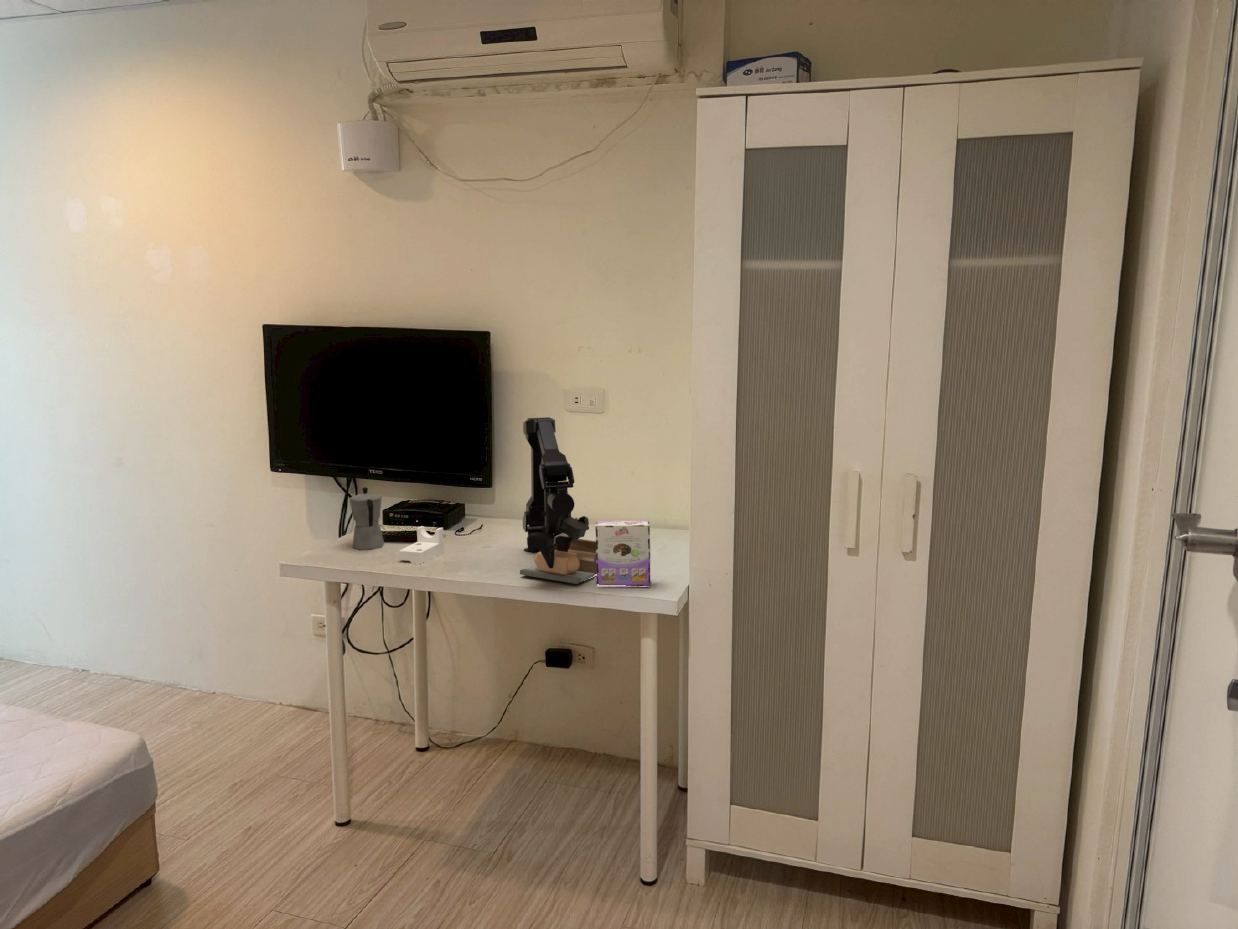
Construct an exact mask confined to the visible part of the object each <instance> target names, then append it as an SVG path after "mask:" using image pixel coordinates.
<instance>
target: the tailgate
mask: <svg viewBox="0 0 1238 929" xmlns="http://www.w3.org/2000/svg"><path fill="white" fill-rule="evenodd" d="M519 575H522V576H526V577H532V578H533V577H534V578H538V579H539V578H540V579H545V580H552V581H556V582H563V583H568V584H575V585H578V584H580V582H581V583H583V582H582V581H584V582H587V581H588V580H587V579H589V578H591V577H593V576H594V575H595V573H589V572H583V571H575V572H573V573H569V574H567V575H564V574H558V573H552V572H546V571H540V570H537V565H536V564H535V565H532V566H529V567H525V568H521V569H519ZM586 580H587V581H586Z"/></svg>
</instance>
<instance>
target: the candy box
mask: <svg viewBox="0 0 1238 929" xmlns="http://www.w3.org/2000/svg"><path fill="white" fill-rule="evenodd" d="M595 523H596V524H595V526H594V528H595V529H594V530H595V541H596V574H597V576H596V584H599V585H626V586H650V587H651V527H650V526H651V525H650V520H649V519H648V520H647V519H646V520H644V519H643V520H641V519H640V520H596V522H595Z"/></svg>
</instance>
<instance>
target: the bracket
mask: <svg viewBox="0 0 1238 929" xmlns="http://www.w3.org/2000/svg"><path fill="white" fill-rule="evenodd" d="M416 536H417V537H416V538H417V539H416V540H417V541H416V542H413V543H412V544H410V545H407V546H406V547H404V548H401V549H399V550H398V560H399V561H409V563H410V562H411V563H410V564H414V563H423V562H425V561H426V562H428V561H431V560H432V559H434V558H435V557H438V556H439V555H441V554H444V553H445V543H444V541H445V540H444V527H439V528H437V529H435V533H434V534H433V535H431V534H429V533H428V532H427V530H426V529H425V526H423V525H421V526H419V527H417V528H416ZM437 555H438V556H437ZM427 560H428V561H427ZM426 562H425V563H426ZM423 564H424V563H423Z"/></svg>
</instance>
